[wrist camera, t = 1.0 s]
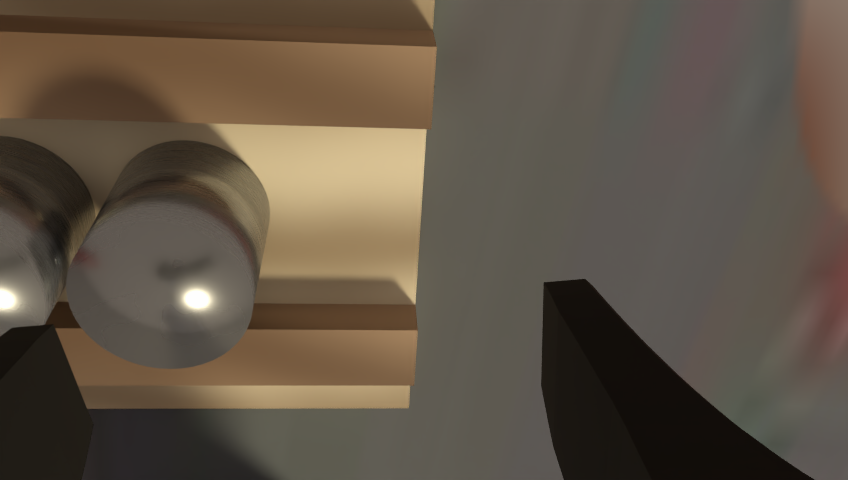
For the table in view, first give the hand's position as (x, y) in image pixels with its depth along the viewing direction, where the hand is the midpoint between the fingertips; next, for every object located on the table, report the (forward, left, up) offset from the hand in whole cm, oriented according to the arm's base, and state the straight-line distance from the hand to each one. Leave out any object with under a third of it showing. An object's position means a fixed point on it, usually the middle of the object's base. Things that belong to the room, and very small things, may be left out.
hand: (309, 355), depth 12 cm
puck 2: (-3, +4, -9) cm, 10 cm away
